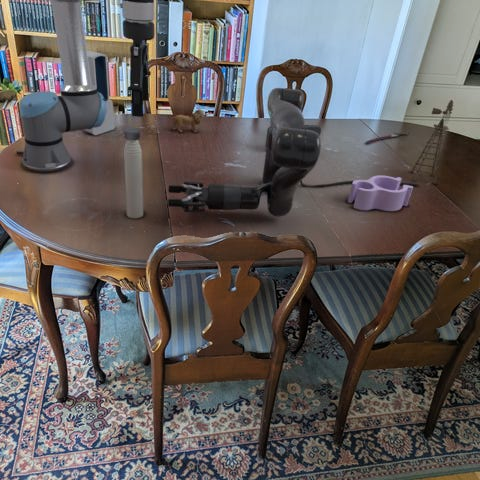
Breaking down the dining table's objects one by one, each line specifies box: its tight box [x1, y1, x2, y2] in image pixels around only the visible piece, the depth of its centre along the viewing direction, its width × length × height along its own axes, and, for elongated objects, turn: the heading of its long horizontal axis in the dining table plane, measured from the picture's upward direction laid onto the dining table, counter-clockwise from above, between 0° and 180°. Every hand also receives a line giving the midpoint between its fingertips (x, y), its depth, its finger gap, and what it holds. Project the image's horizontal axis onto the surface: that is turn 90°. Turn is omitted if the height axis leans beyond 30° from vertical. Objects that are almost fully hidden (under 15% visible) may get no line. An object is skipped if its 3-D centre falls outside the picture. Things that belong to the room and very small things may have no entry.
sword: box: [365, 132, 410, 145], centre depth 213 cm, size 31×3×1 cm, turn 126°
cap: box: [124, 126, 141, 141], centre depth 124 cm, size 4×4×2 cm
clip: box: [347, 175, 414, 212], centre depth 156 cm, size 20×12×7 cm, turn 109°
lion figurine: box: [169, 108, 205, 133], centre depth 196 cm, size 15×5×9 cm, turn 110°
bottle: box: [123, 139, 144, 219], centre depth 130 cm, size 5×5×25 cm
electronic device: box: [82, 50, 116, 136], centre depth 182 cm, size 12×8×30 cm, turn 148°
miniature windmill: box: [410, 99, 454, 185], centre depth 171 cm, size 9×8×30 cm
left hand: (140, 107), depth 124 cm, fingers open, 13 cm apart
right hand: (168, 195), depth 135 cm, fingers open, 8 cm apart
